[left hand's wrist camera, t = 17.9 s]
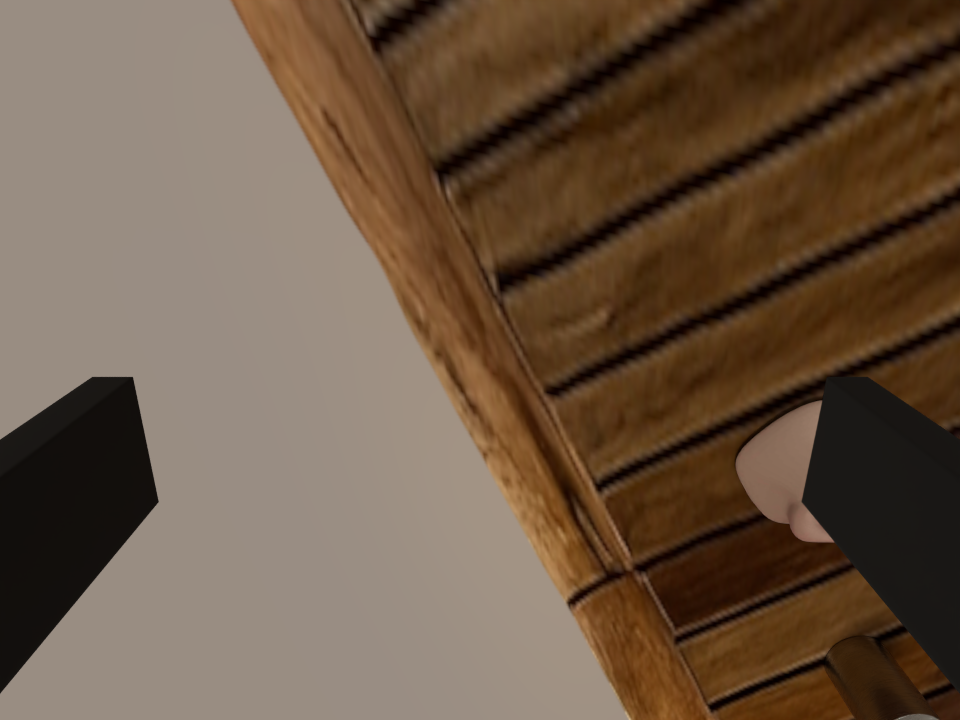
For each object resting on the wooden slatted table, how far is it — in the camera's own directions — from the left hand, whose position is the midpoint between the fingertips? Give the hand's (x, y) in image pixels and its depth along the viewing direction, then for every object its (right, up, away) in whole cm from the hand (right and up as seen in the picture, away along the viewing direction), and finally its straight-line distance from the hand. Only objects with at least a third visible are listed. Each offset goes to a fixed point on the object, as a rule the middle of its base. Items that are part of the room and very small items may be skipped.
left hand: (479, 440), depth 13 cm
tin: (+32, -24, +43) cm, 59 cm away
